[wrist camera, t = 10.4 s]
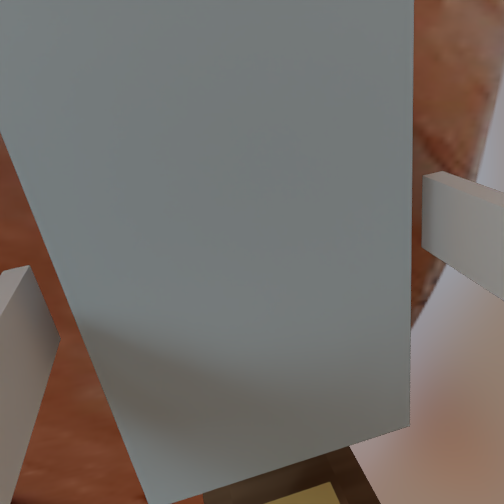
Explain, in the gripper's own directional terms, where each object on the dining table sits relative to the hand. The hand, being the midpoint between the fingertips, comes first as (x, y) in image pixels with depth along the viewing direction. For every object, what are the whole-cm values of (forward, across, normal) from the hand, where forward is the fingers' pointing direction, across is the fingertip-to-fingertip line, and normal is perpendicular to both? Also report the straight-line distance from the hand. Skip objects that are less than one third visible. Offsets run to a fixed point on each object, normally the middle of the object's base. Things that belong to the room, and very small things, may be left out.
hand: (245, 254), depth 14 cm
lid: (0, 0, 0) cm, 1 cm away
